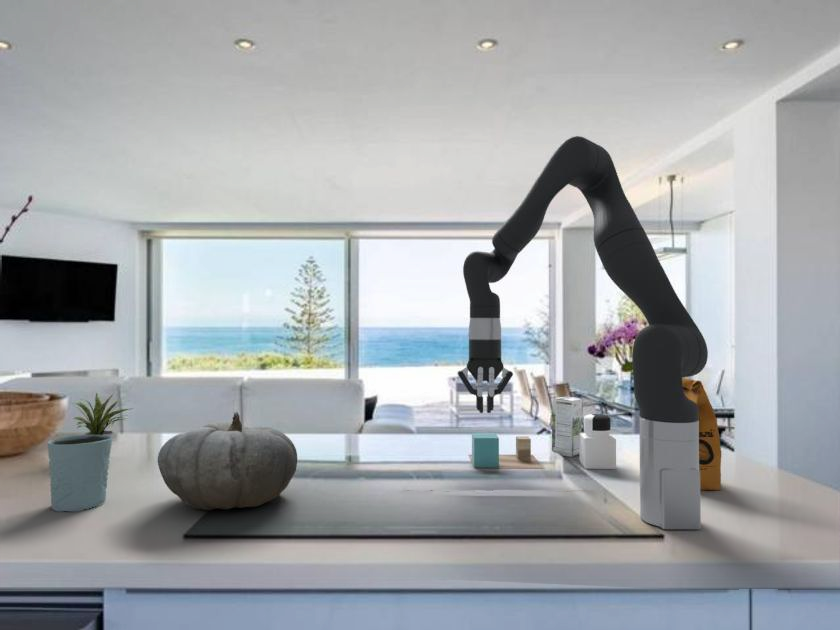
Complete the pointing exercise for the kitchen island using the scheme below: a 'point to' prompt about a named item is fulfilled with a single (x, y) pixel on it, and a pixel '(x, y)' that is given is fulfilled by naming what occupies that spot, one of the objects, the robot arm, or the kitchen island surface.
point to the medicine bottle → (597, 443)
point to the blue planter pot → (79, 471)
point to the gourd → (227, 465)
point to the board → (513, 463)
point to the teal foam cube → (485, 450)
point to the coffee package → (706, 436)
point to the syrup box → (566, 425)
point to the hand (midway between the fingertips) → (485, 412)
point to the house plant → (99, 417)
